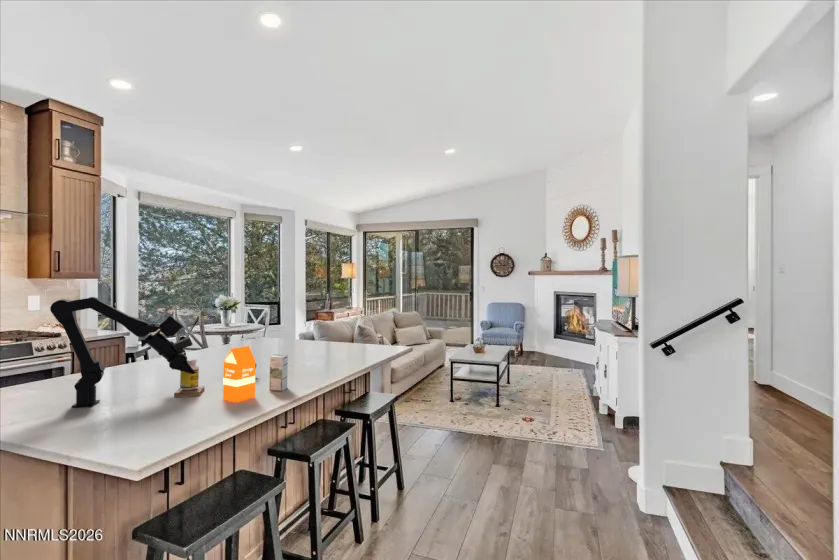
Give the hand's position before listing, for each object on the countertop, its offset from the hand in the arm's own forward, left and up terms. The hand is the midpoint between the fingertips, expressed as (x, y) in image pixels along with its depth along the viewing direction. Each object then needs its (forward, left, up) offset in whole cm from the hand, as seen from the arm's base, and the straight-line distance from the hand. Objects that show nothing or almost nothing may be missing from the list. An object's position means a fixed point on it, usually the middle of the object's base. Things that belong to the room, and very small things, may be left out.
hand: (193, 371), depth 174 cm
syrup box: (0, -33, -9) cm, 34 cm away
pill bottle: (0, +1, -7) cm, 7 cm away
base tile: (0, +1, -9) cm, 9 cm away
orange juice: (-11, -19, -9) cm, 24 cm away
